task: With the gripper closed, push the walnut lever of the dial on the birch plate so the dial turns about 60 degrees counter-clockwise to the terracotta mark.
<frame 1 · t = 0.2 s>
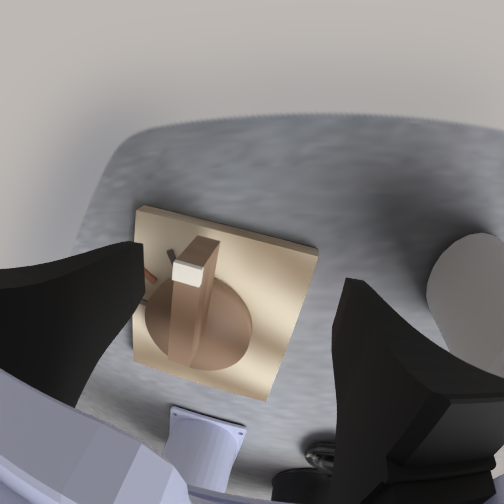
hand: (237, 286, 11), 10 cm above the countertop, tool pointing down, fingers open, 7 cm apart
milk frother: (317, 468, 32), on the countertop
dial plate: (211, 312, 24), on the countertop
can: (466, 275, 20), on the countertop
dial: (191, 323, 20), point 4 cm above the countertop, hinge at 0.0°
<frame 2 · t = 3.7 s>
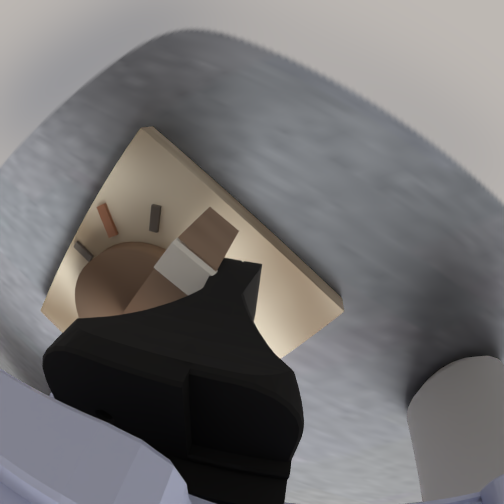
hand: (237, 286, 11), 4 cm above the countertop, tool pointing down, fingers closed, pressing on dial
dial plate: (165, 304, 17), on the countertop
can: (454, 387, 17), on the countertop
dial: (141, 321, 13), point 4 cm above the countertop, hinge at 2.2°, touching gripper
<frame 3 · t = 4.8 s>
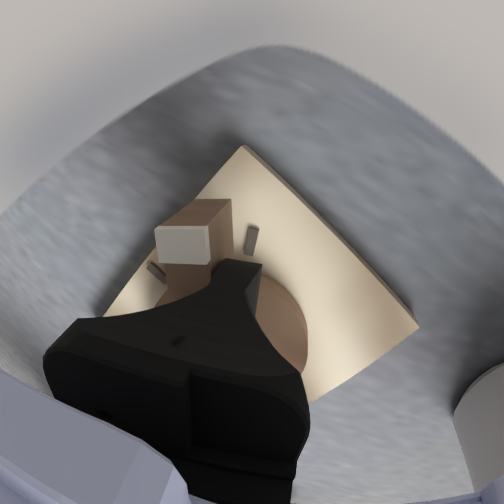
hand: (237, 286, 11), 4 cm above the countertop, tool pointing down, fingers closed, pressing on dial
dial plate: (242, 325, 17), on the countertop
can: (491, 389, 17), on the countertop
dial: (215, 339, 13), point 4 cm above the countertop, hinge at 43.9°, touching gripper
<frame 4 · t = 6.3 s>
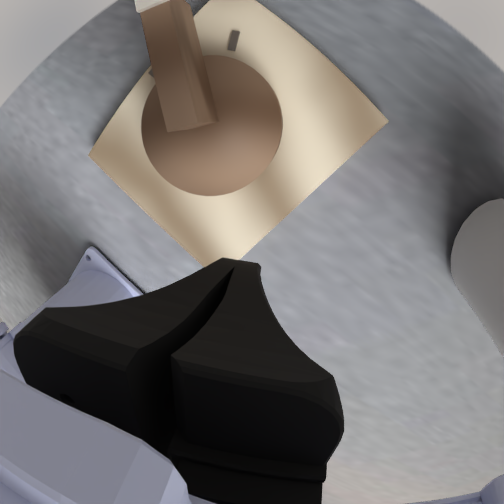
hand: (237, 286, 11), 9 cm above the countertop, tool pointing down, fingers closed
dial plate: (225, 129, 18), on the countertop
can: (488, 246, 18), on the countertop
dial: (190, 95, 14), point 4 cm above the countertop, hinge at 56.6°
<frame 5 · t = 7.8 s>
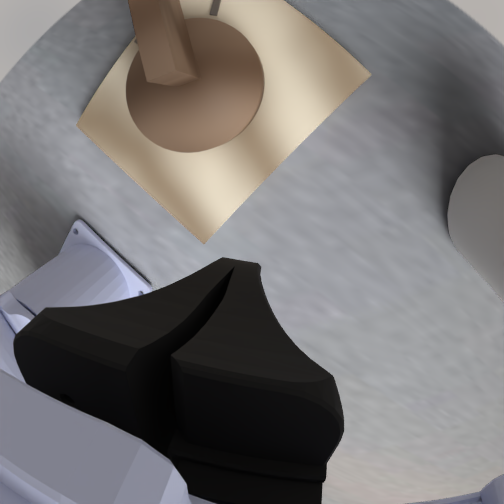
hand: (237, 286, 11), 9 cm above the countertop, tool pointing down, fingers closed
dial plate: (209, 92, 17), on the countertop
can: (486, 207, 17), on the countertop
dial: (172, 52, 13), point 4 cm above the countertop, hinge at 56.8°
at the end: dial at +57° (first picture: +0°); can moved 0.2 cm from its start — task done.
